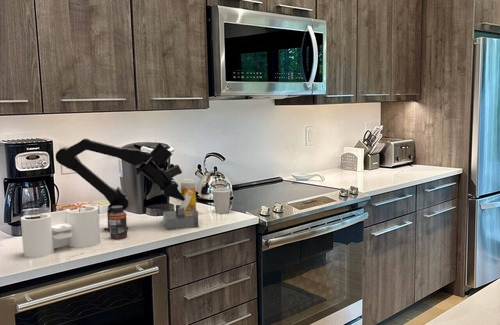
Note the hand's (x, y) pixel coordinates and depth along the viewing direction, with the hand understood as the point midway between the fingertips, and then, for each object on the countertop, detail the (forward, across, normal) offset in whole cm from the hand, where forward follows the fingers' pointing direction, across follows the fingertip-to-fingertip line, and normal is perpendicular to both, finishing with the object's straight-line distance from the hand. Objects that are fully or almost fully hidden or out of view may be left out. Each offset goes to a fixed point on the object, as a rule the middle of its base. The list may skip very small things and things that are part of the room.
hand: (184, 199), depth 193 cm
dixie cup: (+20, +15, -6) cm, 26 cm away
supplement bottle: (-11, -12, +25) cm, 30 cm away
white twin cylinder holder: (-24, -19, +38) cm, 48 cm away
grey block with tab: (+6, 0, +8) cm, 10 cm away
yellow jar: (+10, +16, +4) cm, 19 cm away
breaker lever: (+2, 0, +5) cm, 5 cm away
